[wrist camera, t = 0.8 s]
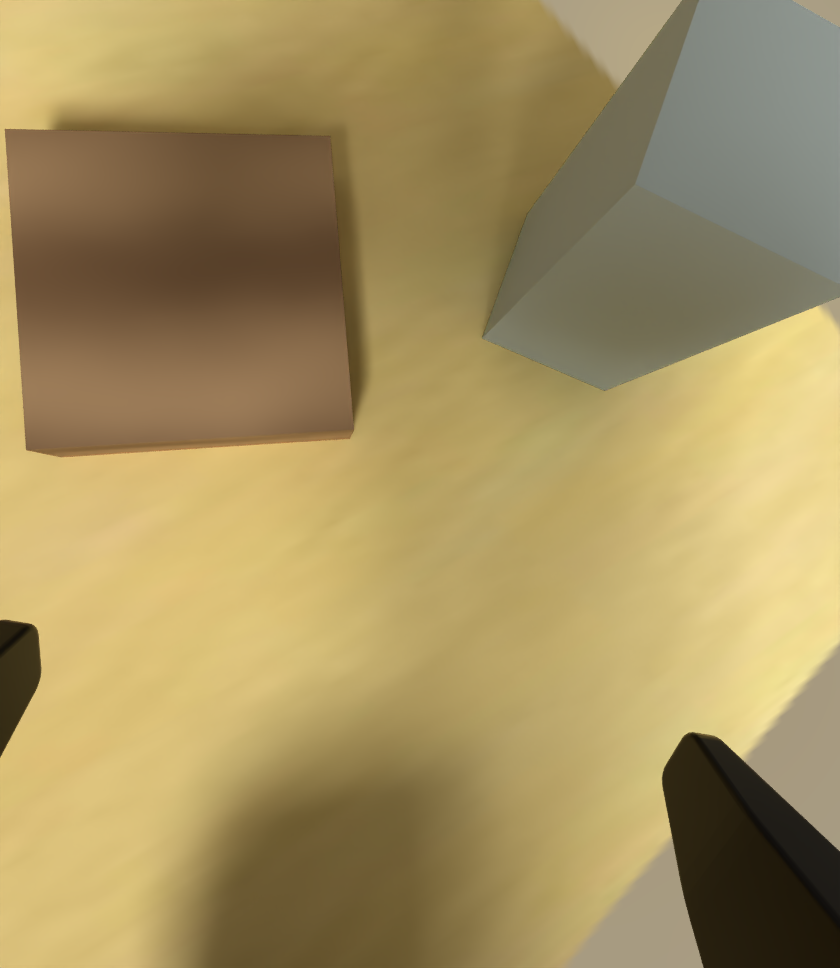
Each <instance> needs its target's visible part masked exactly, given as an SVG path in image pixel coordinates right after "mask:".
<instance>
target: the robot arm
mask: <svg viewBox="0 0 840 968" xmlns="http://www.w3.org/2000/svg"><path fill="white" fill-rule="evenodd" d="M40 677H41V659H40V647H39V635H38V630H37V628H36V627H35V626H34V625H32V624H29V623H23V622H17V621H10V620H0V757H1V755H2V753H3V751H4V749H5V748H6V746H7V744H8V742H9V740H10V738H11V736H12V734H13V732H14V731H15V729H16V727H17V725H18V723H19V721H20V719H21V717H22V716H23V714H24V712H25V710H26V708H27V706H28V704H29V702H30V700H31V699H32V697H33V695H34V693H35V691H36V689H37V687H38V684H39V681H40ZM662 785H663V791H664V797H665V802H666V807H667V812H668V818H669V823H670V828H671V834H672V839H673V844H674V849H675V854H676V860H677V865H678V870H679V876H680V881H681V885H682V890H683V894H684V899H685V903H686V907H687V910H688V914H689V918H690V922H691V925H692V929H693V932H694V936H695V939H696V943H697V946H698V950H699V953H700V956H701V960H702V964H703V967H704V968H840V851H839V850H838V849H836V847H834V846H833V845H832V844H831V843H830V842H829V841H828V840H827V839H826V838H825V837H824V836H823V835H821V834H820V833H819V831H817V830H816V829H815V828H814V827H813V826H812V825H811V824H810V823H809V822H808V821H807V820H806V819H804V817H803V816H801V815H800V814H799V813H798V812H797V811H796V810H795V809H794V808H793V807H792V806H791V805H790V804H789V803H788V802H787V801H785V800H784V799H783V798H782V797H781V796H780V795H779V794H778V793H777V792H776V791H775V790H774V789H773V788H772V787H771V786H770V785H769V784H767V783H766V782H765V781H764V780H763V779H762V778H761V777H760V776H759V775H758V774H757V773H756V772H755V771H754V770H753V769H751V768H750V767H749V766H748V765H747V764H746V763H745V762H744V761H743V760H742V759H741V758H740V757H739V756H738V755H737V754H736V753H734V752H733V751H732V750H731V749H730V748H729V747H728V746H727V745H726V744H725V743H724V742H723V741H722V740H720V739H719V738H717V737H715V736H712V735H706V734H700V733H694V732H690V733H688V734H686V735H684V737H683V738H682V739H681V741H680V743H679V744H678V746H677V748H676V749H675V751H674V752H673V754H672V756H671V757H670V759H669V761H668V762H667V764H666V766H665V768H664V771H663V776H662Z"/></svg>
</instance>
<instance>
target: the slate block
mask: <svg viewBox="0 0 840 968" xmlns="http://www.w3.org/2000/svg"><path fill="white" fill-rule="evenodd" d="M839 297H840V27H838V26H836V25H834V24H833V23H831V22H829V21H827V20H826V19H824V18H822V17H820V16H819V15H817V14H815V13H813V12H812V11H810V10H808V9H806V8H804V7H803V6H801V5H799V4H798V3H796V2H794V1H792V0H682V1H681V3H680V4H679V6H678V7H677V8H676V10H675V11H674V12H673V14H672V15H671V17H670V18H669V19H668V21H667V22H666V23H665V25H664V26H663V28H662V29H661V30H660V32H659V33H658V34H657V36H656V37H655V39H654V40H653V41H652V43H651V44H650V45H649V47H648V48H647V50H646V51H645V52H644V54H643V55H642V57H641V58H640V59H639V61H638V62H637V63H636V65H635V66H634V68H633V69H632V70H631V72H630V73H629V74H628V76H627V77H626V79H625V80H624V81H623V83H622V84H621V85H620V87H619V88H618V90H617V91H616V92H615V94H614V95H613V96H612V98H611V99H610V101H609V102H608V103H607V105H606V106H605V107H604V109H603V110H602V112H601V113H600V114H599V116H598V117H597V118H596V120H595V121H594V123H593V124H592V125H591V127H590V128H589V130H588V131H587V132H586V134H585V135H584V136H583V138H582V139H581V141H580V142H579V143H578V145H577V146H576V147H575V149H574V150H573V152H572V153H571V154H570V156H569V157H568V158H567V160H566V161H565V163H564V164H563V165H562V167H561V168H560V169H559V171H558V172H557V174H556V175H555V176H554V178H553V179H552V181H551V182H550V183H549V185H548V186H547V187H546V189H545V190H544V192H543V193H542V194H541V196H540V197H539V198H538V200H537V201H536V203H535V204H534V205H533V207H532V208H531V209H530V211H529V212H528V214H527V216H526V219H525V222H524V225H523V227H522V230H521V233H520V236H519V238H518V241H517V244H516V246H515V249H514V252H513V255H512V257H511V260H510V263H509V266H508V268H507V271H506V274H505V277H504V279H503V282H502V285H501V288H500V290H499V293H498V296H497V299H496V301H495V304H494V307H493V310H492V312H491V315H490V318H489V321H488V323H487V326H486V329H485V332H484V334H483V337H482V339H485V340H487V341H489V342H492V343H494V344H496V345H499V346H501V347H503V348H506V349H508V350H510V351H513V352H515V353H517V354H520V355H522V356H525V357H527V358H529V359H532V360H534V361H536V362H539V363H541V364H543V365H546V366H548V367H550V368H553V369H555V370H557V371H560V372H562V373H564V374H567V375H569V376H571V377H574V378H576V379H578V380H581V381H583V382H585V383H588V384H590V385H592V386H595V387H597V388H599V389H602V390H604V391H606V390H608V389H611V388H613V387H616V386H618V385H621V384H623V383H626V382H628V381H631V380H633V379H636V378H638V377H641V376H643V375H646V374H648V373H651V372H653V371H656V370H658V369H661V368H663V367H666V366H668V365H671V364H673V363H676V362H678V361H681V360H683V359H686V358H688V357H691V356H693V355H696V354H698V353H701V352H703V351H706V350H708V349H711V348H713V347H716V346H718V345H721V344H723V343H726V342H728V341H731V340H733V339H736V338H738V337H741V336H743V335H746V334H748V333H751V332H753V331H756V330H758V329H761V328H763V327H766V326H768V325H771V324H774V323H776V322H779V321H781V320H784V319H786V318H789V317H791V316H794V315H796V314H799V313H801V312H804V311H806V310H809V309H811V308H814V307H816V306H819V305H821V304H824V303H826V302H829V301H831V300H834V299H836V298H839Z"/></svg>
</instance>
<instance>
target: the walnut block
mask: <svg viewBox="0 0 840 968" xmlns="http://www.w3.org/2000/svg"><path fill="white" fill-rule="evenodd" d="M5 138H6V153H7V168H8V183H9V198H10V213H11V228H12V243H13V258H14V273H15V288H16V303H17V319H18V334H19V349H20V364H21V379H22V394H23V409H24V424H25V439H26V450H28V451H33V452H38V453H43V454H48V455H53V456H58V457H73V456H88V455H104V454H119V453H135V452H150V451H166V450H181V449H197V448H212V447H228V446H244V445H259V444H275V443H290V442H306V441H321V440H337V439H350V437H351V435H352V433H353V431H354V424H353V411H352V399H351V387H350V374H349V362H348V350H347V337H346V325H345V313H344V300H343V288H342V276H341V263H340V251H339V239H338V226H337V214H336V202H335V189H334V177H333V165H332V152H331V140H330V136H302V135H256V134H210V133H164V132H118V131H72V130H26V129H5Z"/></svg>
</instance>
